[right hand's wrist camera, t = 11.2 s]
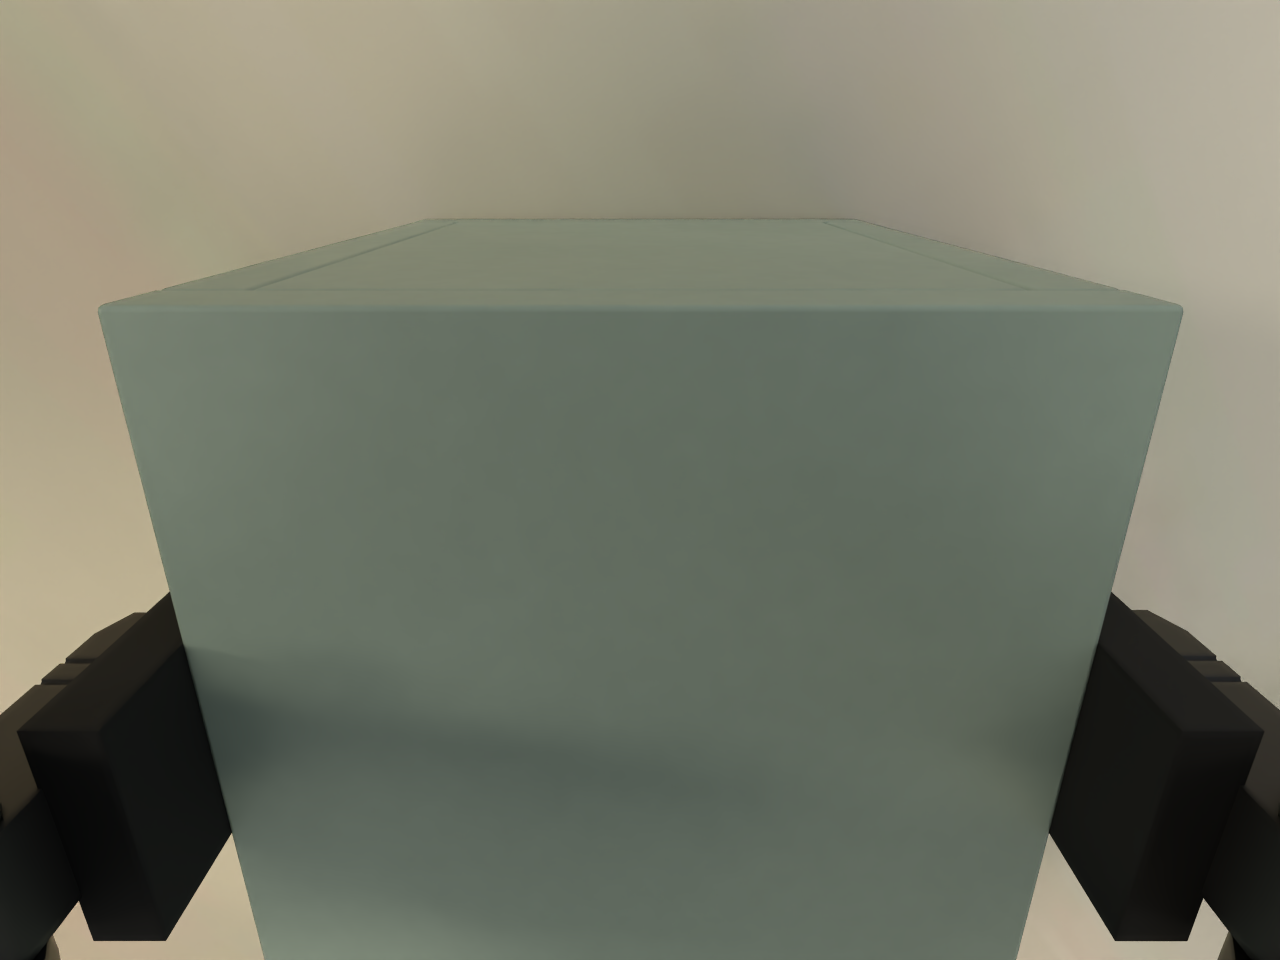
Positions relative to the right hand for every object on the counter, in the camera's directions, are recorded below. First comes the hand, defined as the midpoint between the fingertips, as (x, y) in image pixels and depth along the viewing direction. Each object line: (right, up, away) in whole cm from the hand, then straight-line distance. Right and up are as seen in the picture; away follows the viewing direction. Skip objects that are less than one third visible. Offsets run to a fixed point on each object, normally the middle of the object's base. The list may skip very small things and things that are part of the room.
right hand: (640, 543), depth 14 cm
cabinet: (0, -2, +8) cm, 8 cm away
